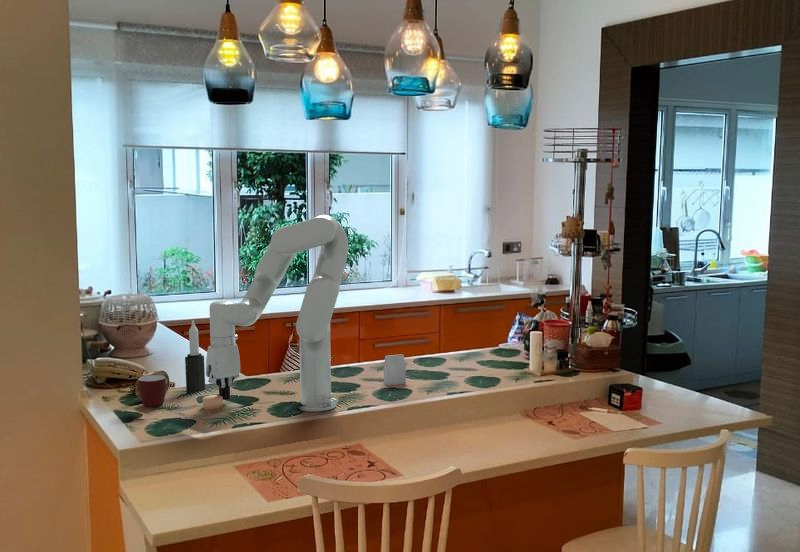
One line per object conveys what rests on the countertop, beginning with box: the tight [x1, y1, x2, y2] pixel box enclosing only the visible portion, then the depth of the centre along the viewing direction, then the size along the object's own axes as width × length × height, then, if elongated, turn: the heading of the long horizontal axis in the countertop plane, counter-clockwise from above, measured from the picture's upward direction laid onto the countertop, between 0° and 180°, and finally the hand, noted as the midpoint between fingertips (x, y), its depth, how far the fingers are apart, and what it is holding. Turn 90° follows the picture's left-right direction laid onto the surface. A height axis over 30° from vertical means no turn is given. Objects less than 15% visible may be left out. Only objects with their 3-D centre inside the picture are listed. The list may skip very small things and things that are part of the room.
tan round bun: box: [201, 394, 223, 411], centre depth 241 cm, size 6×6×3 cm
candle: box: [184, 319, 206, 395], centre depth 262 cm, size 5×5×25 cm
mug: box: [138, 375, 166, 408], centre depth 245 cm, size 11×8×10 cm
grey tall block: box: [383, 353, 407, 386], centre depth 274 cm, size 4×7×10 cm, turn 111°
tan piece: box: [170, 400, 245, 420], centre depth 240 cm, size 13×18×2 cm
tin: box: [134, 370, 170, 402], centre depth 258 cm, size 15×3×8 cm, turn 160°
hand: (224, 398), depth 245 cm, fingers closed
